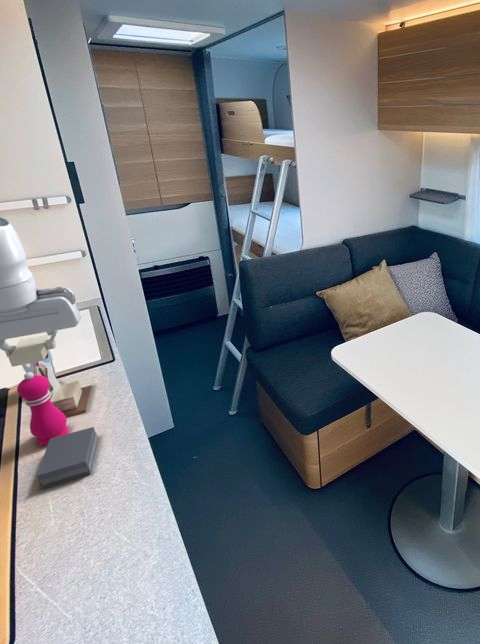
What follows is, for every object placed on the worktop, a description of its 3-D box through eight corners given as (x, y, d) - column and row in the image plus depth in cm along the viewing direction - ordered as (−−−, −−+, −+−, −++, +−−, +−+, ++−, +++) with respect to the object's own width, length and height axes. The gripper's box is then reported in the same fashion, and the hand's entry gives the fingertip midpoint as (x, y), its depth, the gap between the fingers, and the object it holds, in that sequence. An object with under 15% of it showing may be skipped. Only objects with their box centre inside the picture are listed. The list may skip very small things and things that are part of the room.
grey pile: (42, 491, 90) (36, 476, 88) (55, 452, 100) (49, 438, 98) (92, 476, 93) (86, 461, 91) (99, 440, 103) (94, 426, 102)
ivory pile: (42, 425, 108) (36, 410, 107) (53, 398, 119) (47, 384, 117) (86, 414, 112) (81, 399, 110) (93, 389, 122) (88, 375, 120)
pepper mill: (49, 452, 100) (21, 385, 92) (29, 444, 102) (0, 378, 95) (78, 431, 106) (53, 367, 99) (59, 425, 109) (33, 361, 101)
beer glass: (45, 400, 118) (27, 356, 112) (28, 395, 120) (10, 352, 114) (68, 386, 124) (53, 343, 118) (52, 381, 126) (36, 339, 120)
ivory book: (11, 367, 85) (8, 358, 84) (23, 348, 92) (20, 339, 91) (44, 360, 87) (40, 351, 86) (53, 342, 94) (50, 334, 93)
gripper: (74, 280, 91) (90, 334, 96) (-47, 297, 83) (-21, 355, 88) (67, 290, 85) (86, 347, 91) (-62, 309, 77) (-34, 370, 83)
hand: (32, 351), depth 89 cm, fingers closed on ivory book, 5 cm apart
